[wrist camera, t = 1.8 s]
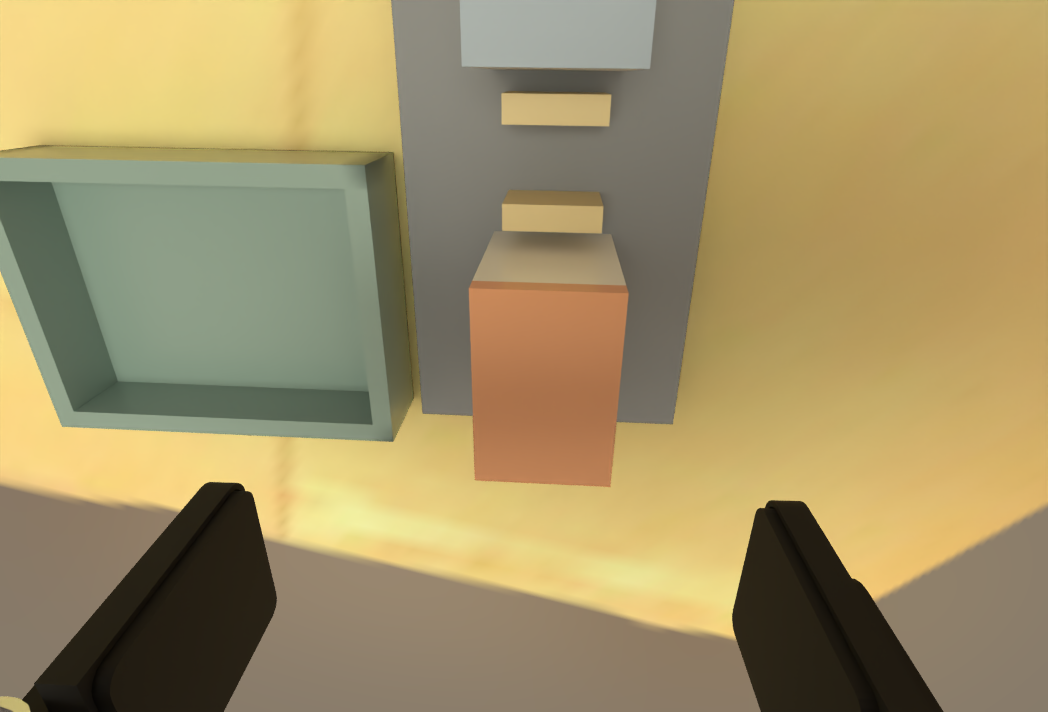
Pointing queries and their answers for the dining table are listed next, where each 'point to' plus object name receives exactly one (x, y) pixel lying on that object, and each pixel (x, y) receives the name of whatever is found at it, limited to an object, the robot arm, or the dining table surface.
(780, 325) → the dining table surface
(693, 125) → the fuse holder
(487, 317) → the block
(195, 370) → the tray
